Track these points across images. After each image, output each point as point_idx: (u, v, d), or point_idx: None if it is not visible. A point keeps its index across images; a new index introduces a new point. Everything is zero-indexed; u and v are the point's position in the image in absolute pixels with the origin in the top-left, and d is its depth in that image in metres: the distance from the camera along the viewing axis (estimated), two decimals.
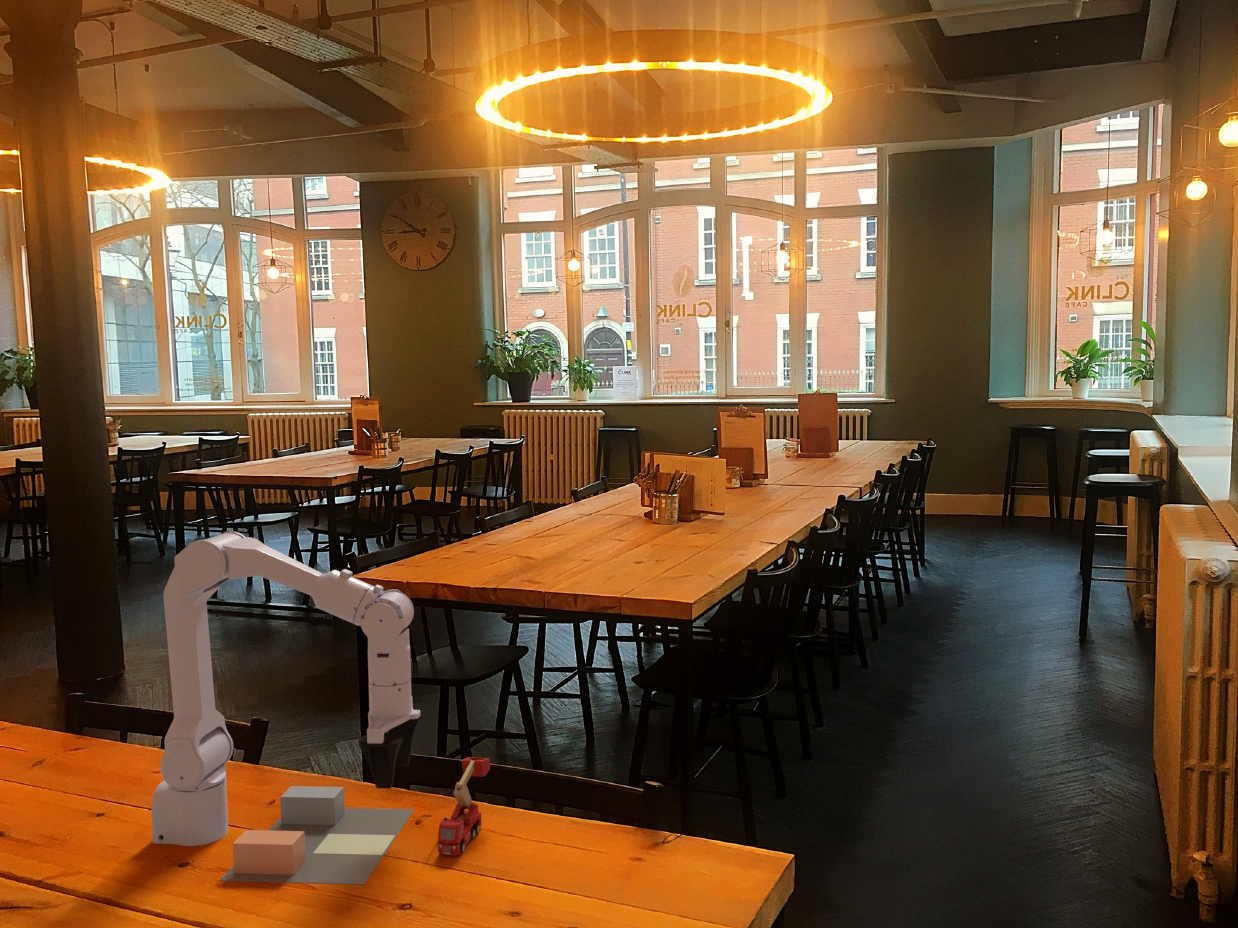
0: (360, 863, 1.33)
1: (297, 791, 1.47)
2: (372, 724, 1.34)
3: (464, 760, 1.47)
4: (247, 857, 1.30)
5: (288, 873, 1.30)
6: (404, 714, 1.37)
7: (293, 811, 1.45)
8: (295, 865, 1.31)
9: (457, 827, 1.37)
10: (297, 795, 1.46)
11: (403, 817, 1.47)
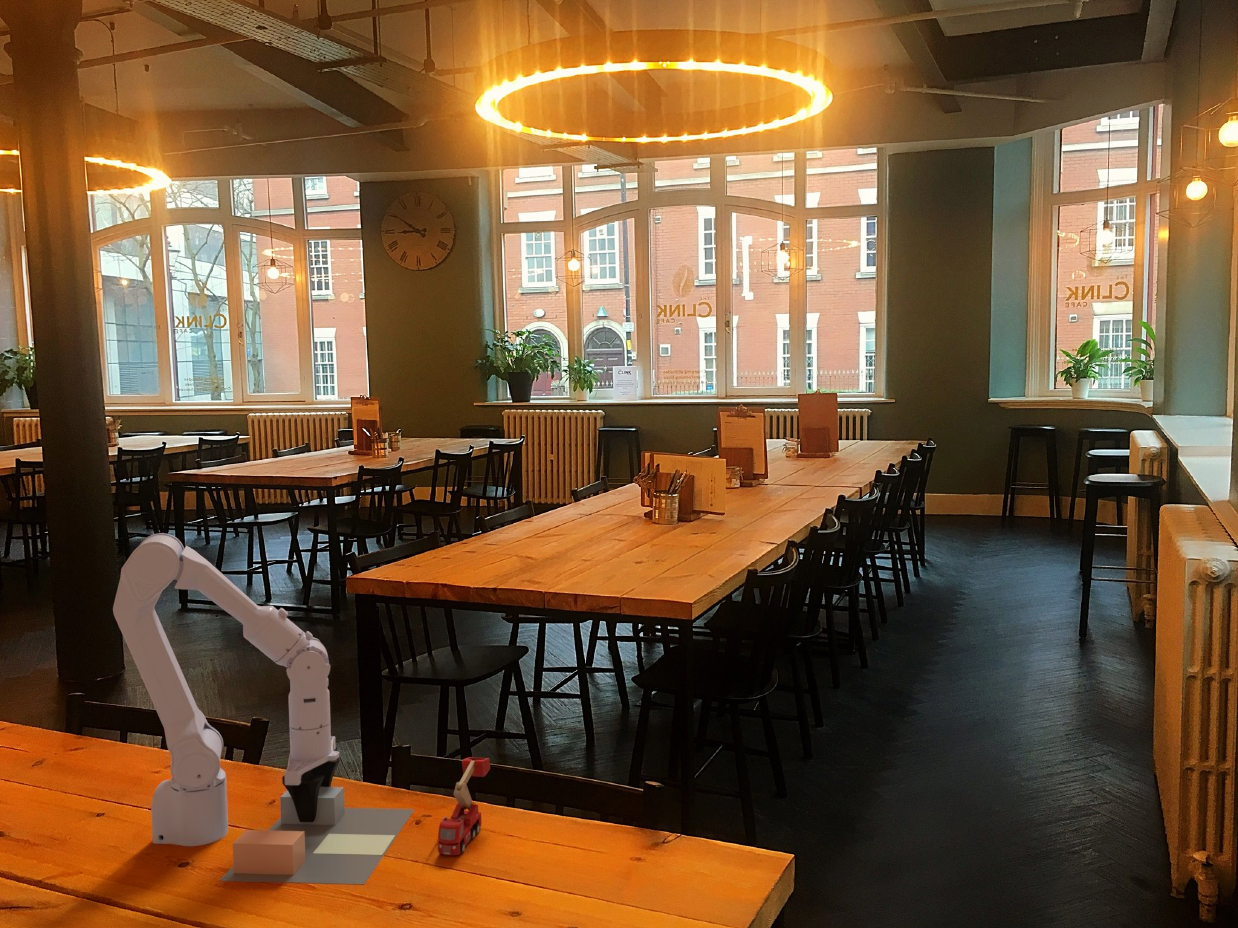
0: (360, 863, 1.33)
1: None
2: (291, 766, 1.42)
3: (464, 760, 1.47)
4: (247, 857, 1.30)
5: (288, 873, 1.30)
6: (323, 756, 1.45)
7: (293, 811, 1.45)
8: (295, 865, 1.31)
9: (457, 827, 1.37)
10: None
11: (403, 817, 1.47)
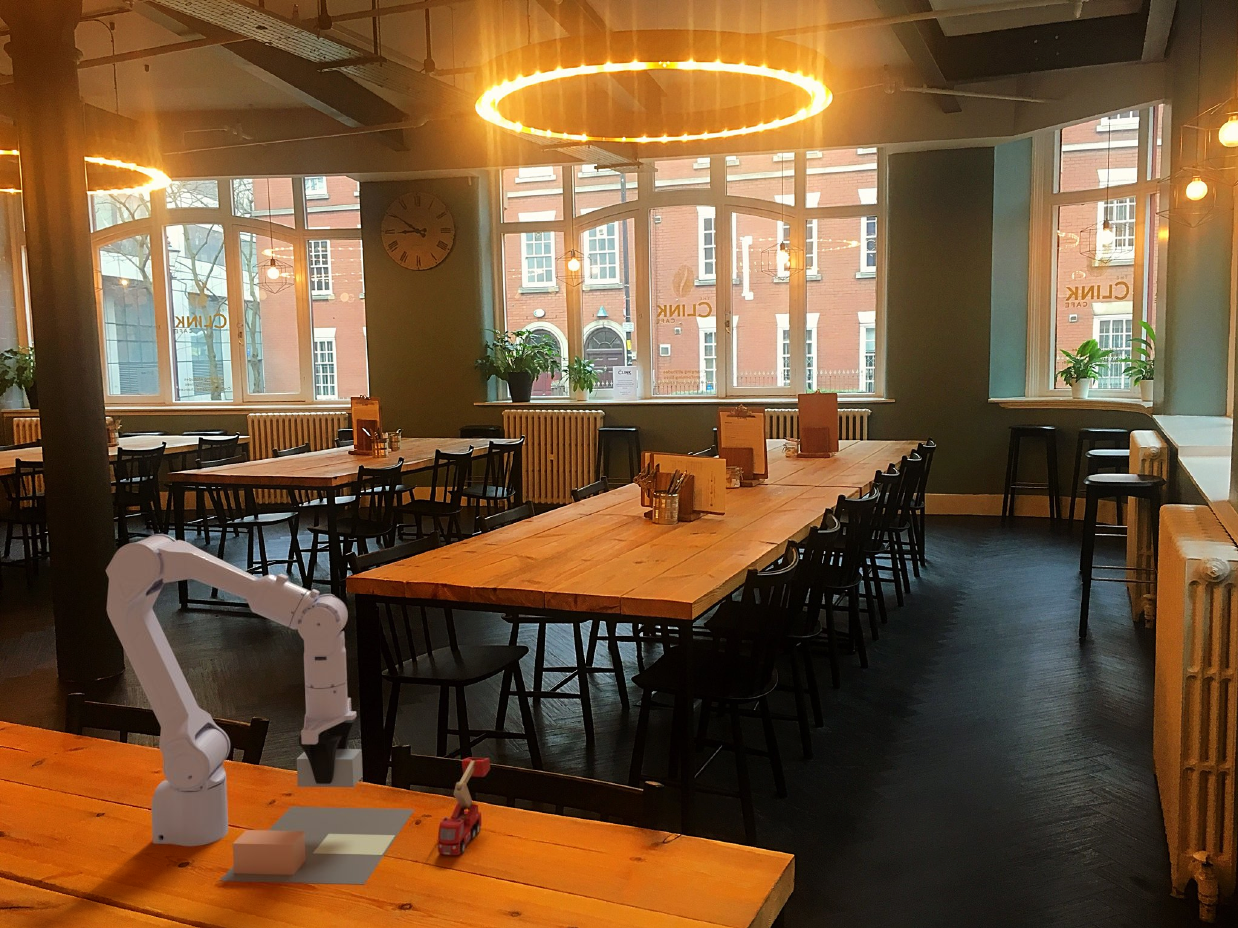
0: (360, 863, 1.33)
1: None
2: (307, 725, 1.38)
3: (464, 760, 1.47)
4: (247, 857, 1.30)
5: (288, 873, 1.30)
6: (339, 715, 1.41)
7: (310, 773, 1.41)
8: (295, 865, 1.31)
9: (457, 827, 1.37)
10: None
11: (403, 817, 1.47)
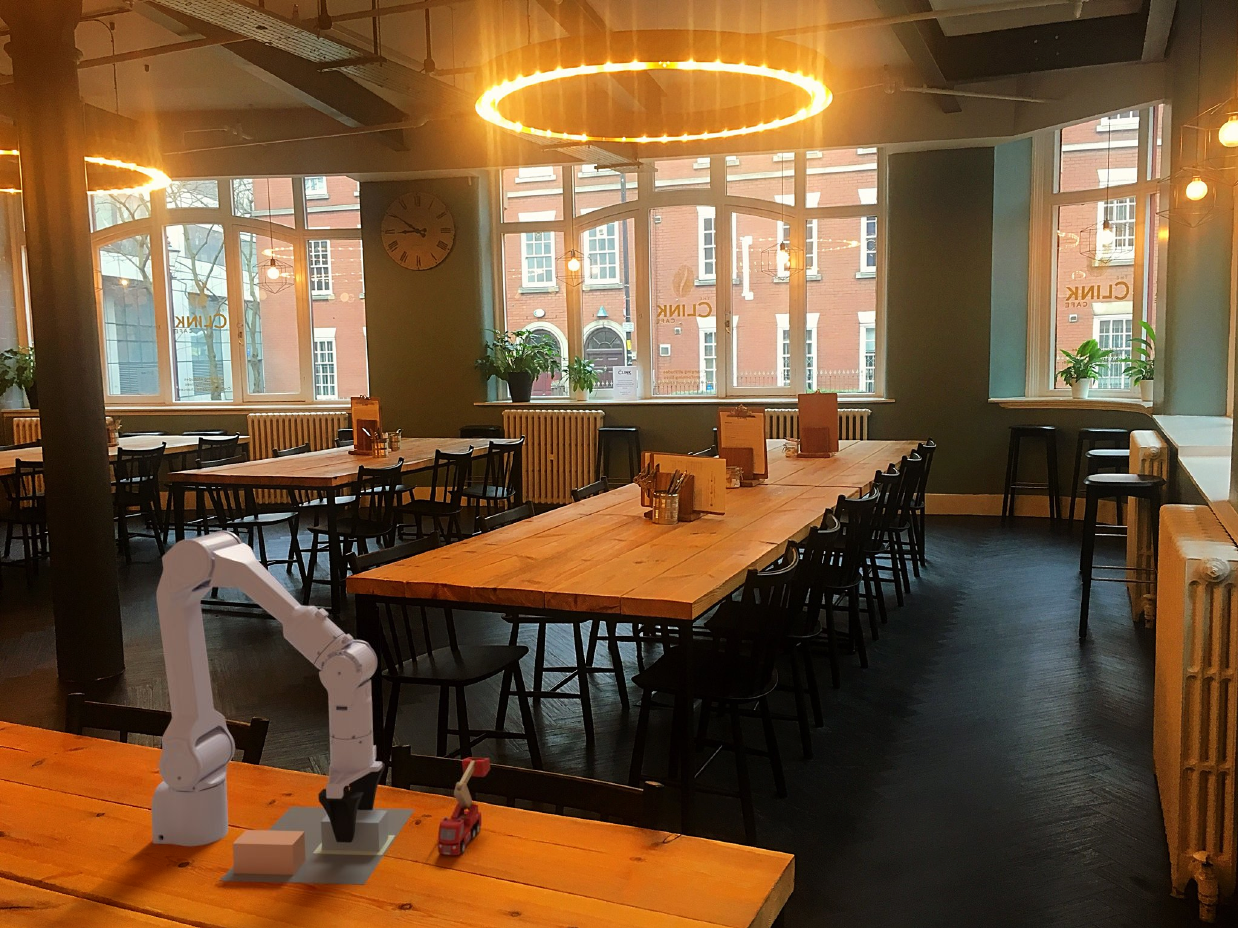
0: (360, 863, 1.33)
1: None
2: (332, 778, 1.33)
3: (464, 760, 1.47)
4: (247, 857, 1.30)
5: (288, 873, 1.30)
6: (365, 767, 1.36)
7: (334, 837, 1.37)
8: (295, 865, 1.31)
9: (458, 827, 1.37)
10: None
11: (403, 817, 1.47)
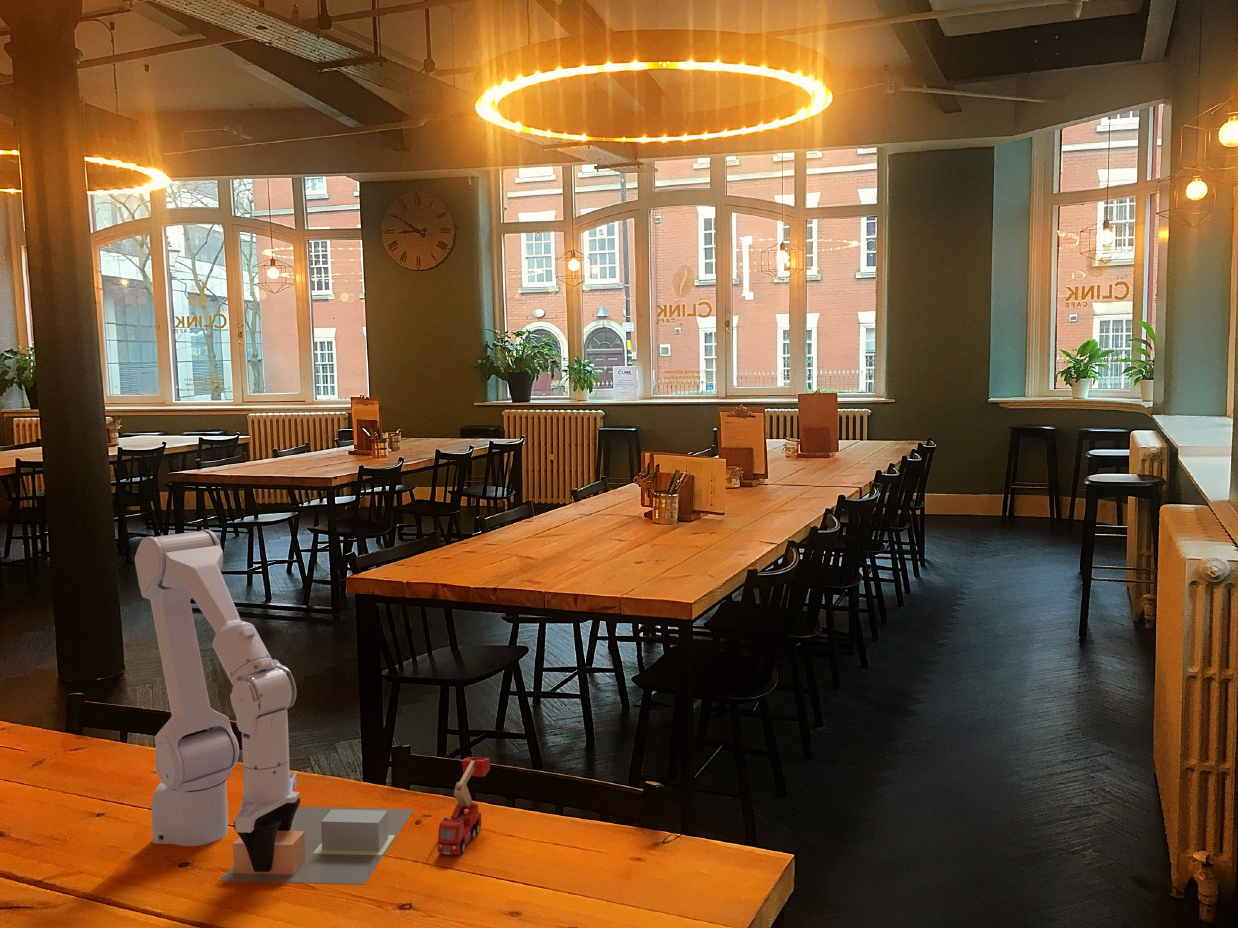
0: (360, 863, 1.33)
1: (339, 814, 1.39)
2: (243, 810, 1.27)
3: (464, 760, 1.47)
4: (247, 857, 1.30)
5: (288, 873, 1.30)
6: (280, 798, 1.30)
7: (334, 837, 1.37)
8: (295, 865, 1.31)
9: (457, 827, 1.37)
10: (338, 820, 1.37)
11: (403, 817, 1.47)
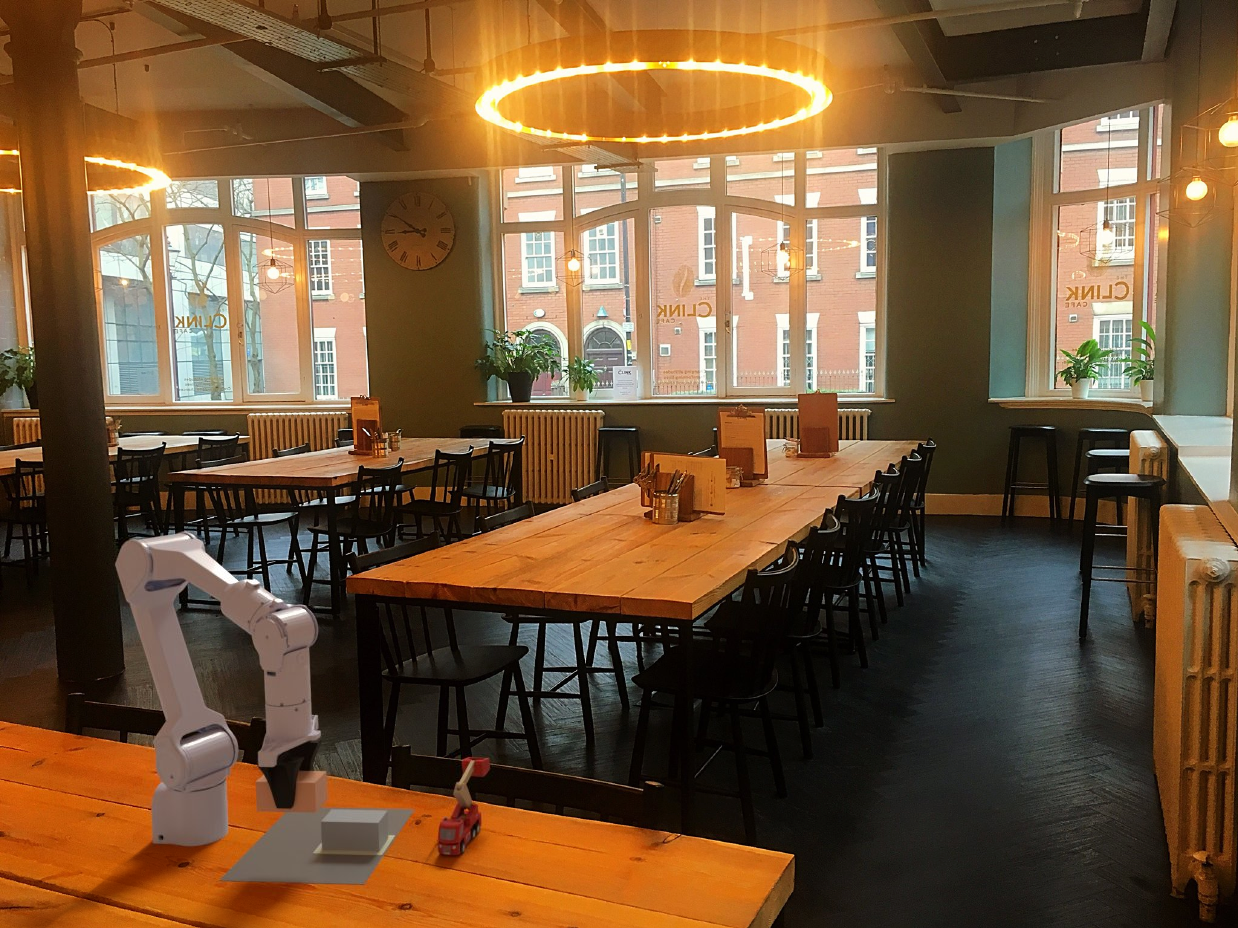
0: (360, 863, 1.33)
1: (339, 814, 1.39)
2: (266, 746, 1.28)
3: (464, 760, 1.47)
4: (270, 795, 1.31)
5: (310, 811, 1.31)
6: (302, 735, 1.31)
7: (334, 837, 1.37)
8: (317, 803, 1.32)
9: (457, 827, 1.37)
10: (338, 820, 1.37)
11: (403, 817, 1.47)
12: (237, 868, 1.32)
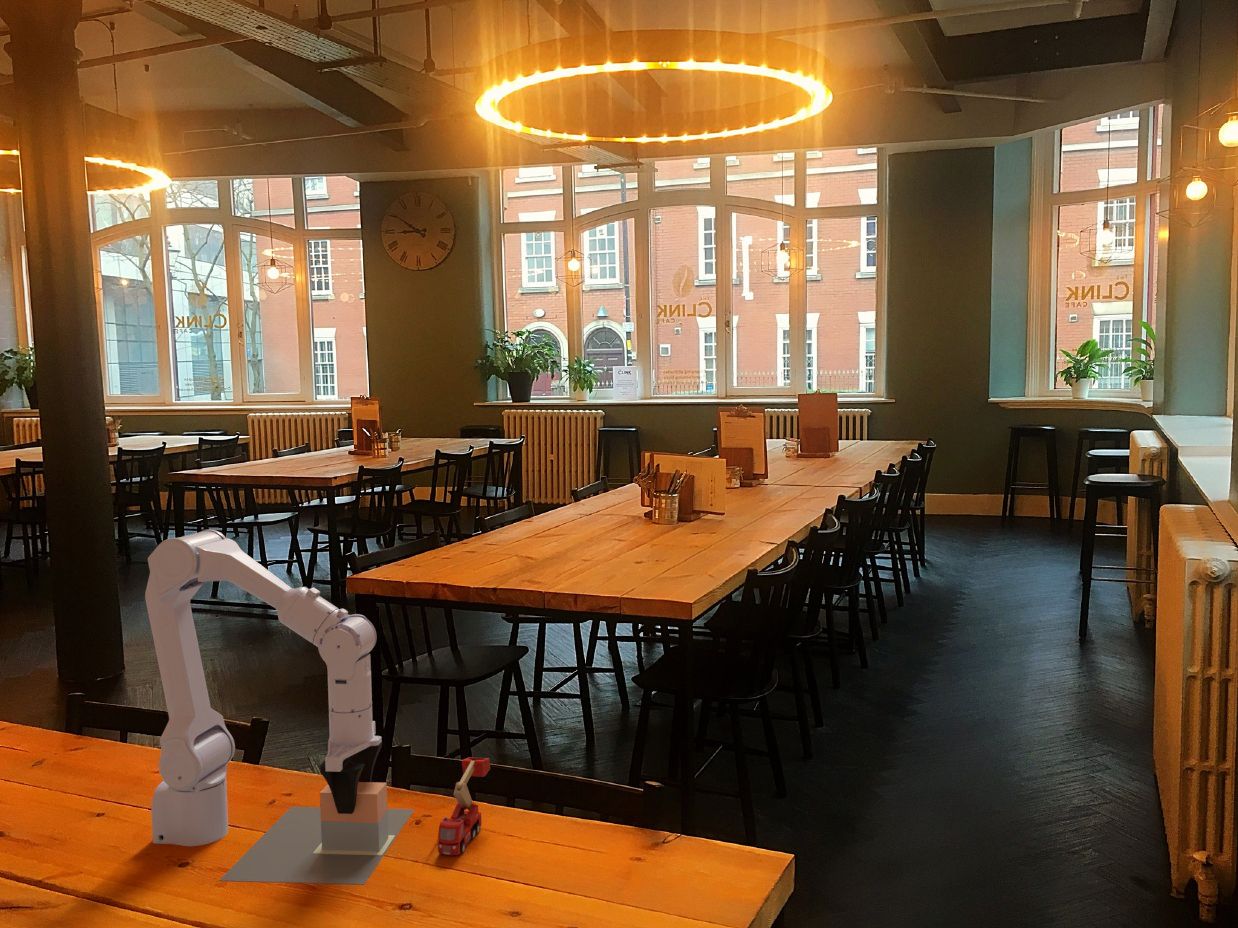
0: (360, 863, 1.33)
1: None
2: (331, 751, 1.33)
3: (464, 760, 1.47)
4: (334, 806, 1.36)
5: (373, 821, 1.36)
6: (364, 741, 1.36)
7: (334, 837, 1.37)
8: (379, 814, 1.37)
9: (457, 827, 1.37)
10: None
11: (403, 817, 1.47)
12: (237, 868, 1.32)
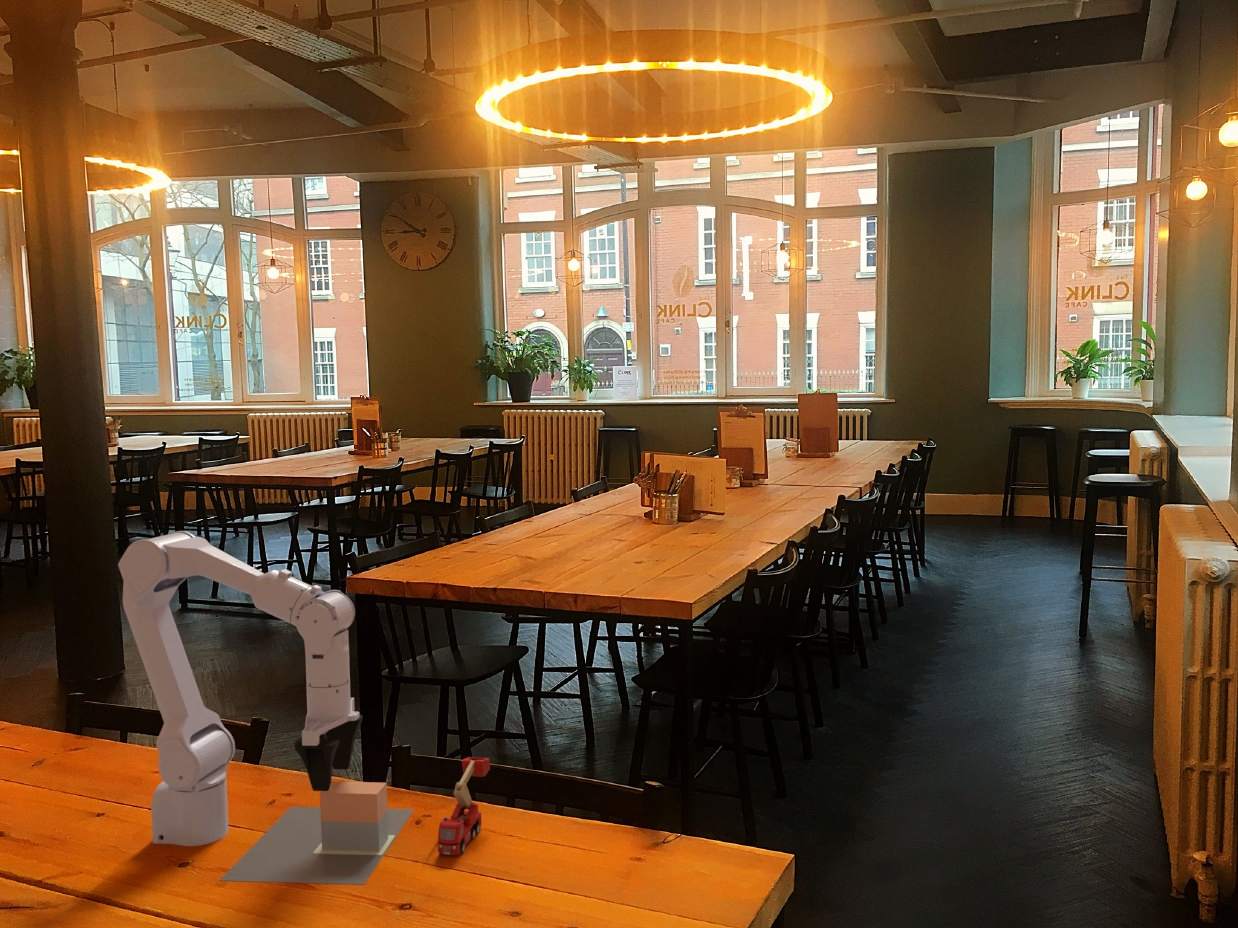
0: (360, 863, 1.33)
1: None
2: (308, 726, 1.33)
3: (464, 760, 1.47)
4: (334, 806, 1.36)
5: (373, 821, 1.36)
6: (342, 716, 1.36)
7: (334, 837, 1.37)
8: (379, 814, 1.37)
9: (457, 827, 1.37)
10: None
11: (403, 817, 1.47)
12: (237, 868, 1.32)
